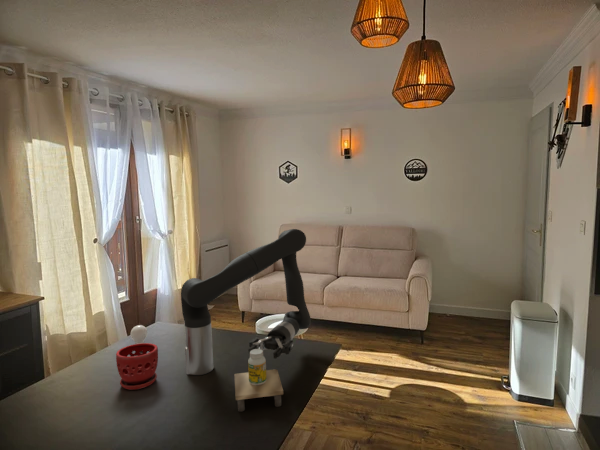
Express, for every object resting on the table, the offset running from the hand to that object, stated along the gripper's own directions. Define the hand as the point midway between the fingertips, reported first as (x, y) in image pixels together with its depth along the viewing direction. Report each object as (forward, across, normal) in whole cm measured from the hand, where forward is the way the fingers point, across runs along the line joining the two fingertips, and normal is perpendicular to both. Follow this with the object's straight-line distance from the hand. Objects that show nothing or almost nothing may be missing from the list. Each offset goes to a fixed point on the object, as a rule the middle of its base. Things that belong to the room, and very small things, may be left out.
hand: (262, 354), depth 127 cm
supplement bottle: (+4, 0, +7) cm, 8 cm away
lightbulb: (-13, -61, +13) cm, 64 cm away
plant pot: (+7, -43, +13) cm, 46 cm away
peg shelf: (+4, 0, +12) cm, 13 cm away
